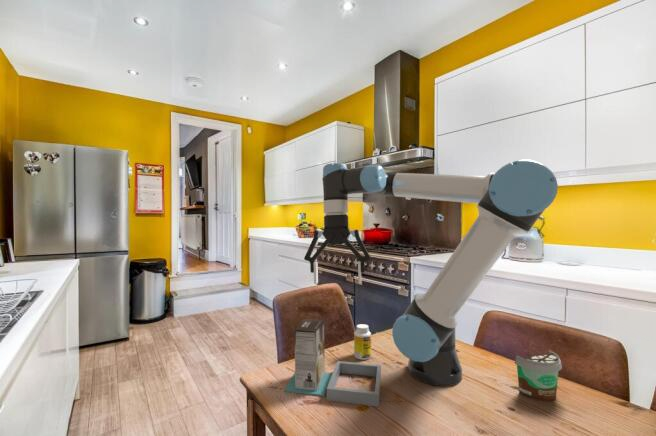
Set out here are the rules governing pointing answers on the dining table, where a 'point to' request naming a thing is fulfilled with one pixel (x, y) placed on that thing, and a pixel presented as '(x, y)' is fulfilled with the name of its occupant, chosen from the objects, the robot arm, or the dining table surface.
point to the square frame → (352, 394)
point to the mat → (319, 392)
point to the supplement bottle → (362, 342)
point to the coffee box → (309, 354)
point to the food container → (538, 376)
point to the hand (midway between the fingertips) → (337, 283)
